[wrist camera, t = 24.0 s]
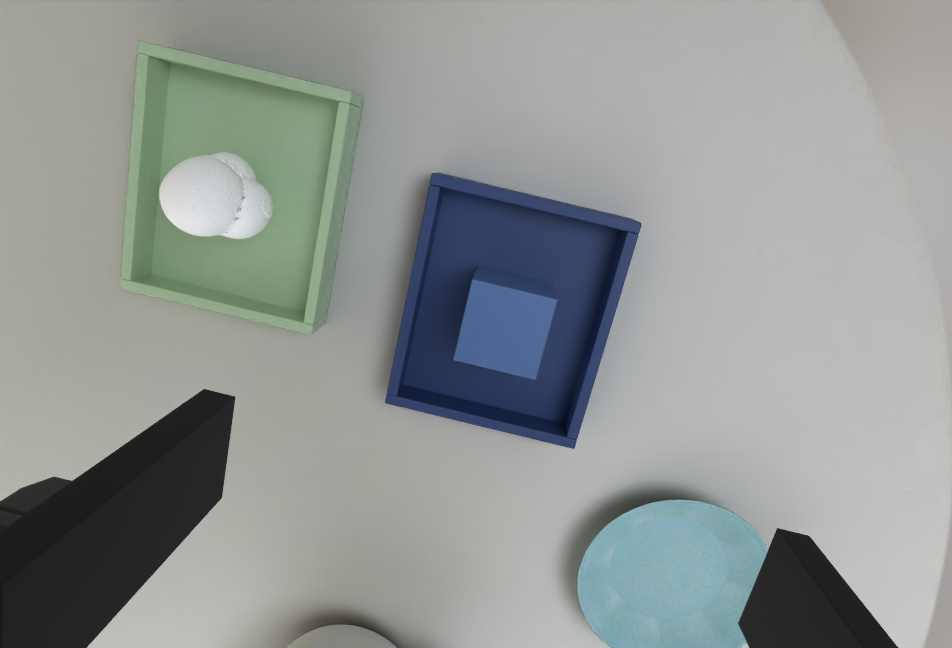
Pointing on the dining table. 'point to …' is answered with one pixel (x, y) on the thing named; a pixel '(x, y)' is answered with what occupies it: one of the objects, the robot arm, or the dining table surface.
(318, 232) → the pale tray
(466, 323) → the blue block
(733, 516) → the saucer
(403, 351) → the blue tray
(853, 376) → the dining table surface
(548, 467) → the dining table surface
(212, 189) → the microfossil shell
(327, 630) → the teacup
